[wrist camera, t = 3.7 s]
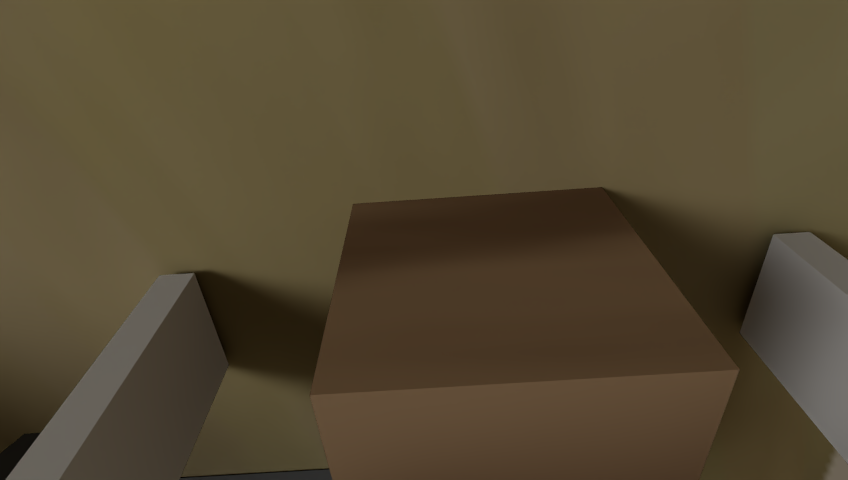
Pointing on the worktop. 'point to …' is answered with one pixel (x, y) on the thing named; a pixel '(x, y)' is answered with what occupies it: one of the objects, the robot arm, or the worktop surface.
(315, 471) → the tray
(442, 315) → the walnut cube
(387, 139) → the worktop surface
